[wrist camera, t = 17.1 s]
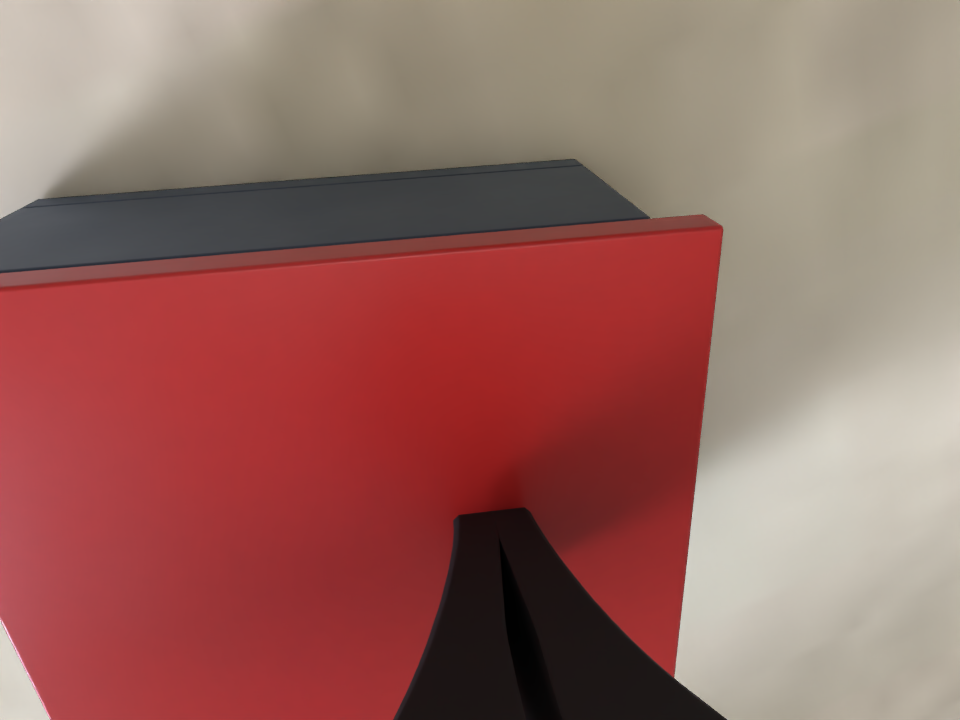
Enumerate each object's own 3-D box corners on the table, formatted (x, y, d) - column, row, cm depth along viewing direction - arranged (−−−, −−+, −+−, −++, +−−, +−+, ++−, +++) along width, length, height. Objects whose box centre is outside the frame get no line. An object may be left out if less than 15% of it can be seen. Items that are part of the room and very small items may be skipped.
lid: (704, 212, 12) (726, 226, 11) (659, 686, 17) (671, 715, 16) (-126, 282, 10) (-163, 301, 10) (102, 765, 16) (88, 800, 15)
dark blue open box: (576, 158, 16) (652, 216, 11) (571, 542, 21) (623, 691, 17) (35, 198, 15) (-124, 280, 11) (169, 590, 20) (103, 762, 16)
